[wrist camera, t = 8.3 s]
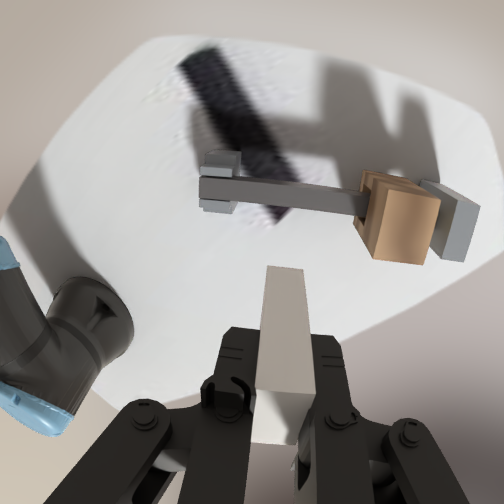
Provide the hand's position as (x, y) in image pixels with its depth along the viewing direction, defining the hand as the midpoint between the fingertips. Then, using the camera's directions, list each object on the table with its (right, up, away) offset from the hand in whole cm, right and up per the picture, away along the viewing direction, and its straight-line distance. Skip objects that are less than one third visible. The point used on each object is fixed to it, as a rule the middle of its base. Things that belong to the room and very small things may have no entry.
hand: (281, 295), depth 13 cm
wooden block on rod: (+12, +7, +17) cm, 22 cm away
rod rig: (+7, +9, +20) cm, 23 cm away
